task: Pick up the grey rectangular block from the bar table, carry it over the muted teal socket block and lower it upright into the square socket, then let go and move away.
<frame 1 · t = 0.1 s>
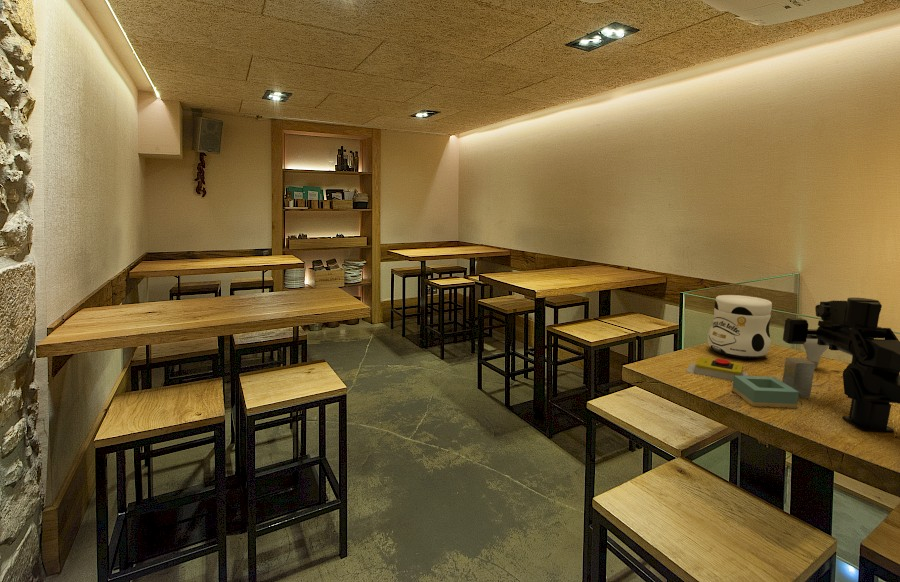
hand: (804, 323, 128), 17 cm above the table, tool horizontal, fingers open, 9 cm apart
milk container: (736, 354, 156), on the table
grey rectangular block: (795, 394, 123), on the table
socket block: (762, 398, 120), on the table
emergency button: (716, 375, 138), on the table
lightbulb: (811, 369, 142), on the table
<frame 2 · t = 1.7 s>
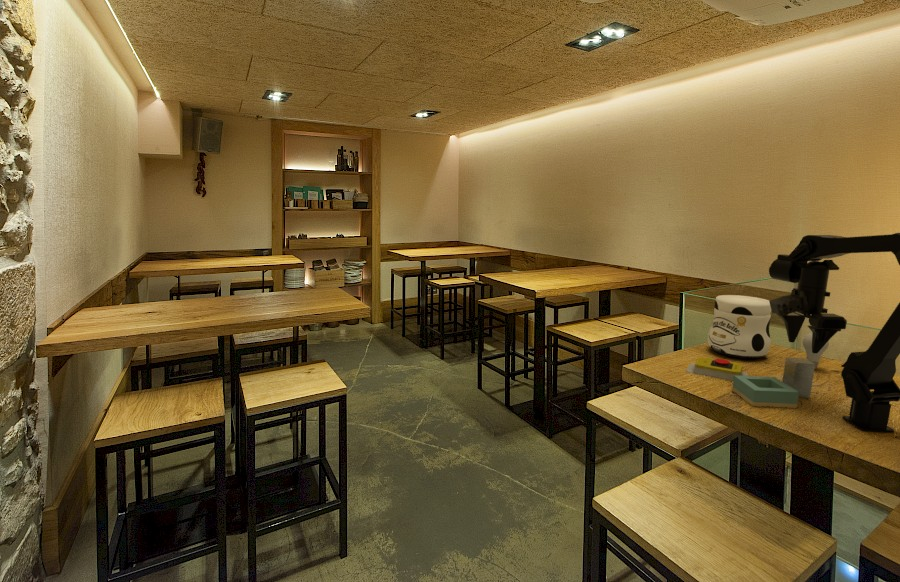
hand: (802, 347, 120), 12 cm above the table, tool pointing down, fingers open, 9 cm apart
nothing on the table moved.
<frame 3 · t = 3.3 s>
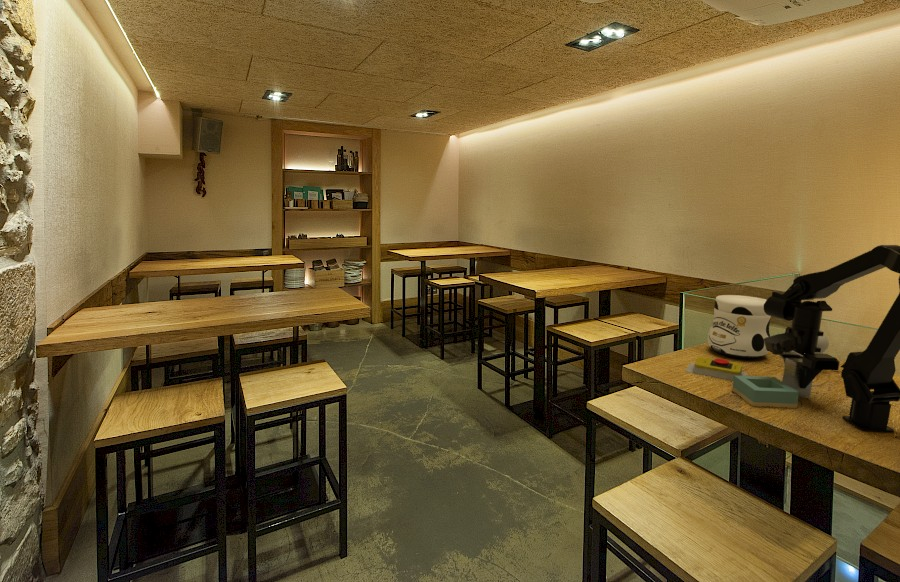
hand: (796, 384, 122), 3 cm above the table, tool pointing down, fingers closed on grey rectangular block, 4 cm apart
grey rectangular block: (795, 394, 123), on the table, touching gripper
everything else where it was.
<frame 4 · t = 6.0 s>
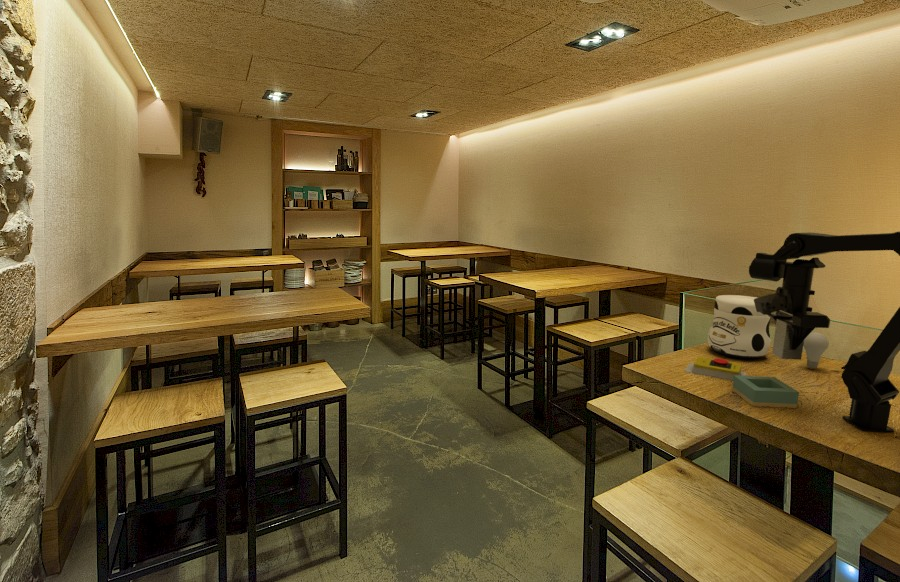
hand: (787, 346, 119), 13 cm above the table, tool pointing down, fingers closed on grey rectangular block, 4 cm apart
grey rectangular block: (786, 356, 119), point 10 cm above the table, touching gripper
everything else where it was.
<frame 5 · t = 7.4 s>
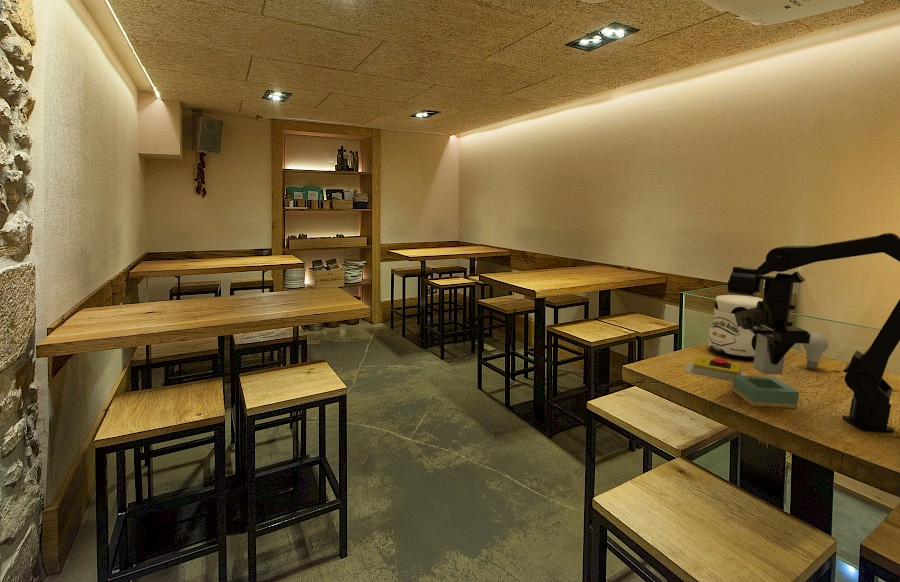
hand: (768, 361, 118), 10 cm above the table, tool pointing down, fingers closed on grey rectangular block, 4 cm apart
grey rectangular block: (767, 371, 118), point 7 cm above the table, touching gripper
everything else where it was.
when the fingers open (5 cm above the table, at t = 8.8 s): grey rectangular block drops 1 cm, resting on socket block.
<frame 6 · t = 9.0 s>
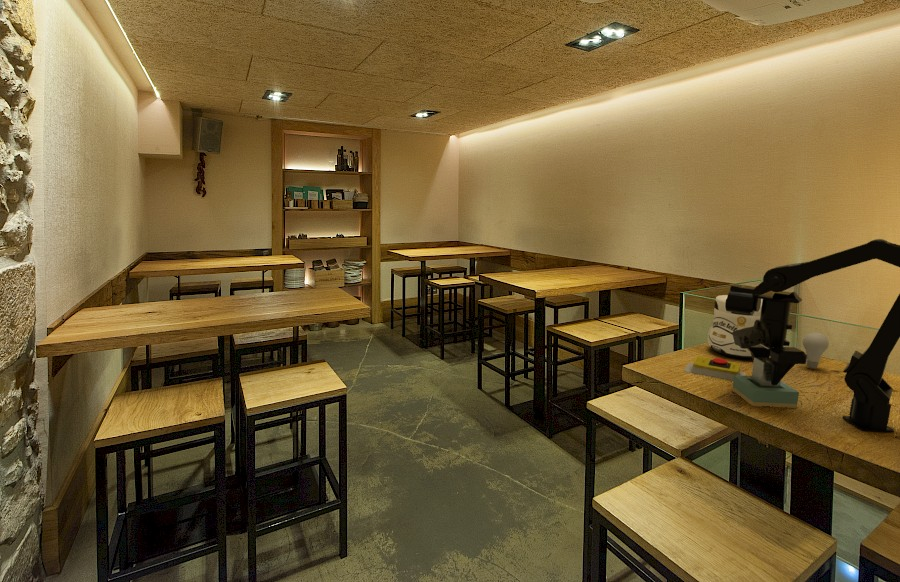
hand: (765, 379, 119), 5 cm above the table, tool pointing down, fingers open, 7 cm apart
grey rectangular block: (763, 394, 119), point 1 cm above the table, touching socket block
everything else where it was.
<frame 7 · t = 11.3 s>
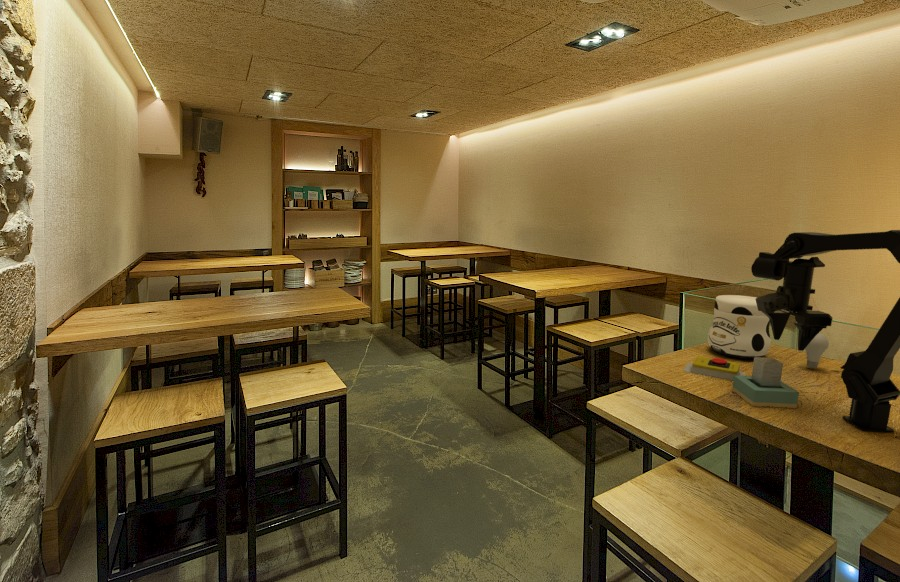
hand: (788, 344, 121), 13 cm above the table, tool pointing down, fingers open, 9 cm apart
nothing on the table moved.
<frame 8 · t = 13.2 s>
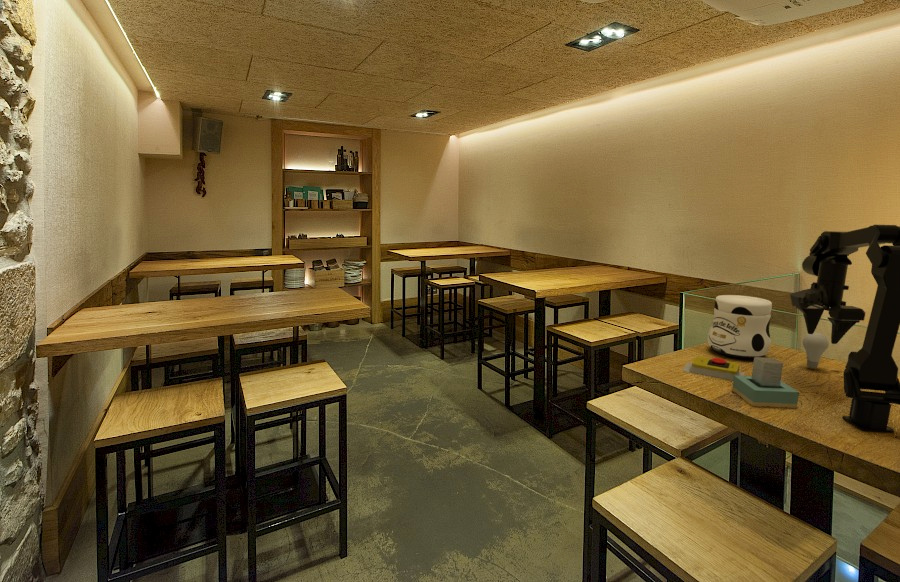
hand: (821, 338, 126), 13 cm above the table, tool pointing down, fingers open, 9 cm apart
nothing on the table moved.
at the end: grey rectangular block 0.0 cm off-centre on the socket block, point 1.0 cm above the socket block's base; grey rectangular block tilted 0°; the gripper is holding nothing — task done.
